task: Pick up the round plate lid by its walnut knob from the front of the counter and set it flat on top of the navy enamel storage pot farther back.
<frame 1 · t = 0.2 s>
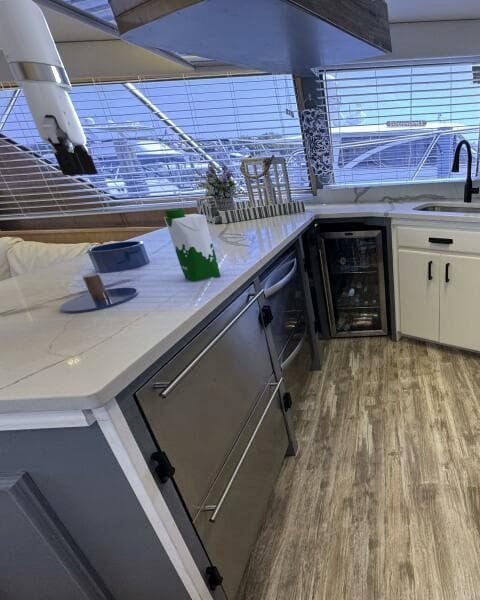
hand: (82, 174, 68), 29 cm above the worktop, tool pointing down, fingers open, 9 cm apart
pot: (126, 271, 104), on the worktop
milk carton: (203, 278, 95), on the worktop
plate lid: (101, 300, 80), point 1 cm above the worktop
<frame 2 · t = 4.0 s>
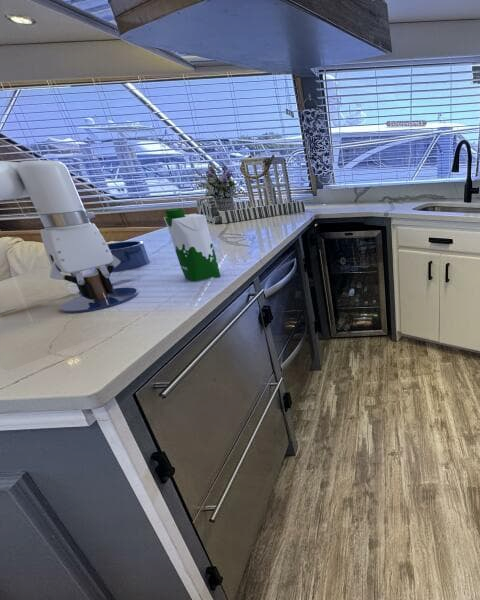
hand: (99, 295, 79), 2 cm above the worktop, tool pointing down, fingers closed on plate lid, 3 cm apart
plate lid: (101, 300, 80), point 1 cm above the worktop, touching gripper
everything else where it was.
when the fingers open (10 cm above the worktop, at t = 13.9 s): plate lid stays where it is, resting on pot.
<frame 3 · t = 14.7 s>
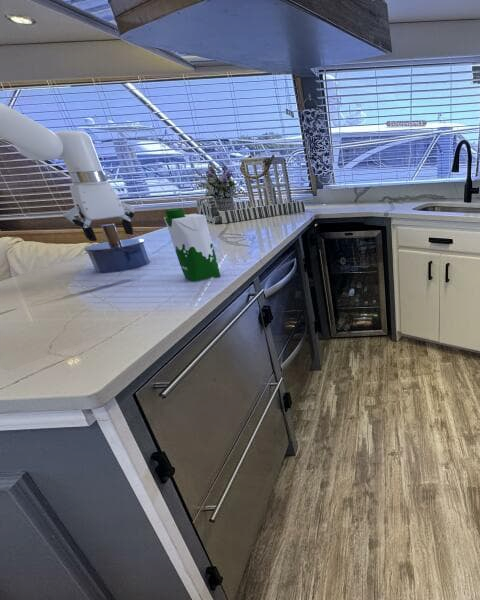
hand: (112, 237, 100), 11 cm above the worktop, tool pointing down, fingers open, 9 cm apart
plate lid: (116, 245, 101), point 8 cm above the worktop, touching pot
everything else where it was.
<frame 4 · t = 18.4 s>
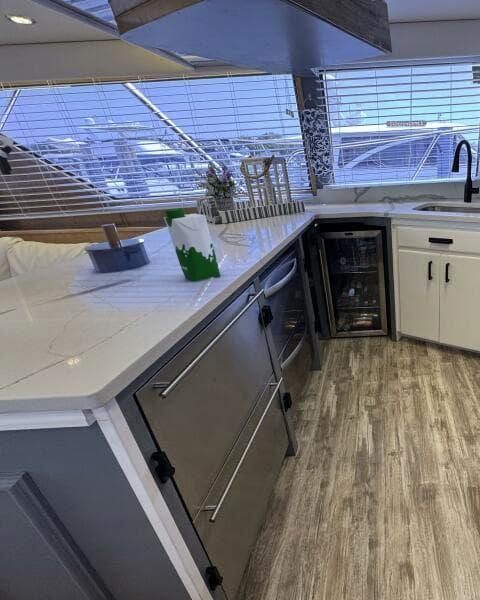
nothing on the worktop moved.
at the end: plate lid 0.0 cm off-centre on the pot, point 8.5 cm above the pot's base; plate lid tilted 0° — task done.
